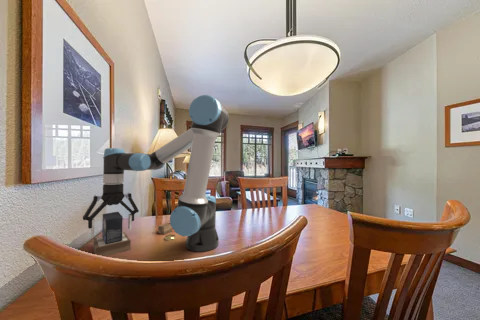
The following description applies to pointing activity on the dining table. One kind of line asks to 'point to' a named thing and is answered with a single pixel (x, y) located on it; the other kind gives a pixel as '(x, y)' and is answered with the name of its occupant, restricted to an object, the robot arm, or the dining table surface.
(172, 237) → the brass disc
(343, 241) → the dining table surface
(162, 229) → the walnut block
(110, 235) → the small box
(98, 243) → the plinth
